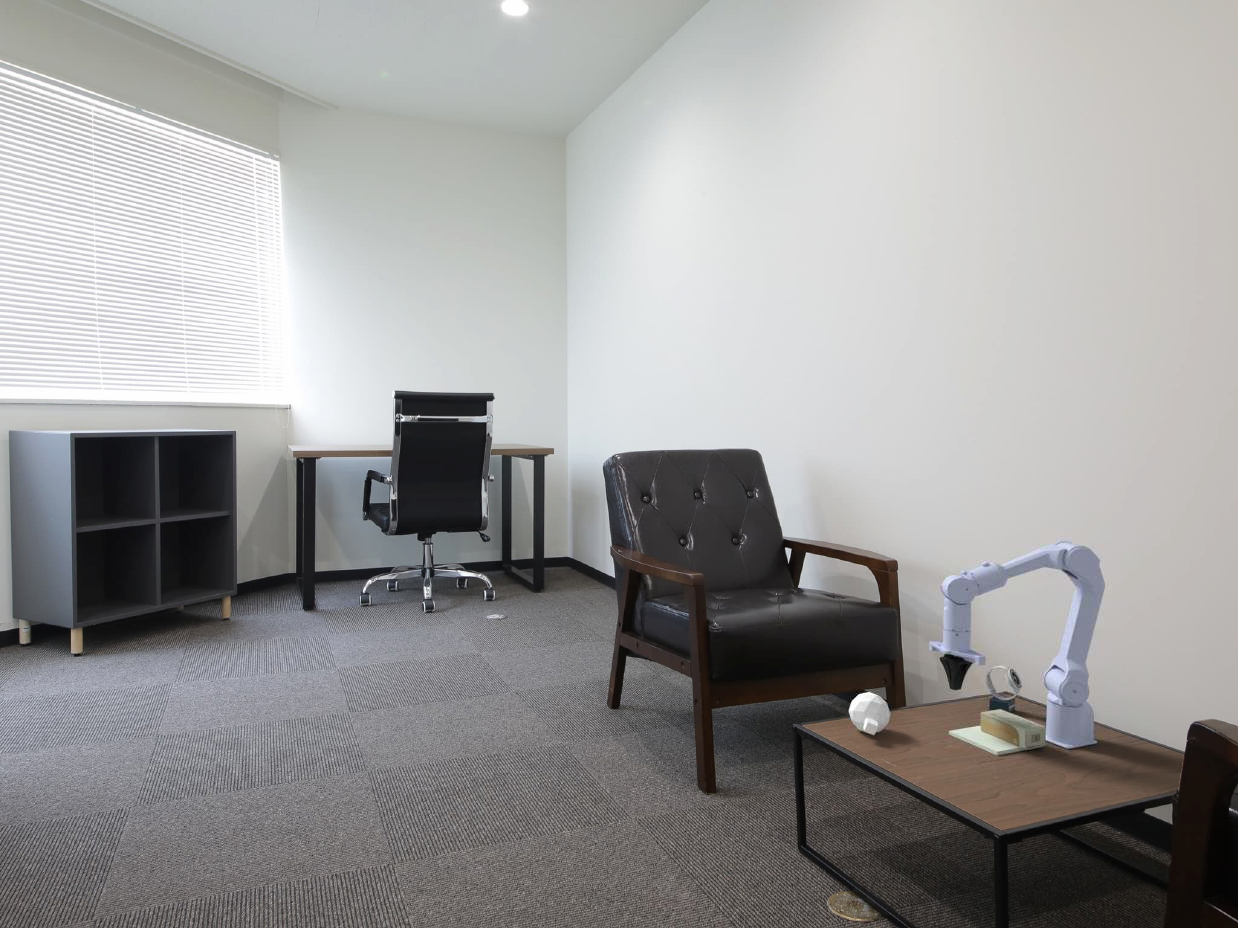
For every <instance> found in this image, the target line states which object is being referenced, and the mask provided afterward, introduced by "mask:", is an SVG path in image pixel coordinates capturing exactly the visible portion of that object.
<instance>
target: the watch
mask: <svg viewBox="0 0 1238 928" xmlns="http://www.w3.org/2000/svg"><path fill="white" fill-rule="evenodd" d="M997 669H998V670H1003V672H1004V674H1005V679H1006V681H1007V683H1008V685H1010V687H1011V688H1012V689H1013V692H1014V695H1012V696H1007V695H1002V694H999V693H998V692H997V690H996V688H995V686H994V684H993V681H992V679H991V673H992V671H993V670H997ZM984 679H985V680H984V682H985V685H986V687H987V689H988V691H989V693H990V695H991V696H993V697H991V698H989V708H988V711H992V710H999V709H1001V710H1004V711H1006V712H1009V713H1012V714H1013V713H1014V712H1015V711H1016V696H1017V695H1018V694H1019V693H1020V691H1021V689H1022V687H1023V685H1022V681H1021V678H1020V676H1019V675H1018V673H1017V672H1016V670H1014V669H1013V668H1010V667H1009V666H1006V665H996V666H994V667H992V668H990V669H989V670H988V671H987V672H986V674H985V678H984ZM1013 711H1014V712H1013Z"/></svg>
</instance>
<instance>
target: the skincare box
mask: <svg viewBox="0 0 1238 928" xmlns="http://www.w3.org/2000/svg"><path fill="white" fill-rule="evenodd" d="M980 726H981V731H984V732H986V733H988V734H991V735H993V736H995V737H998V738H1000V739H1002V740H1005V741H1007V742H1009V743H1012V744H1014V745H1017V746H1019V747H1021V748H1023V749H1028V750H1031V749H1030V748H1034V749H1037V748H1036V747H1039V748H1041V747H1040V746H1044V747H1045V746H1046V742H1047V741H1046V726H1045V725H1042V724H1040V723H1038V722H1036V721H1032V720H1030V719H1027V718H1024V717H1022V716H1019V715H1017V714H1014V713H1013V712H1012V713H1009V712H1006V711H1004V710H1001V709H999V710H992V711H989V710H987V711H982V712H980Z"/></svg>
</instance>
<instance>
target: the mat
mask: <svg viewBox="0 0 1238 928" xmlns="http://www.w3.org/2000/svg"><path fill="white" fill-rule="evenodd" d="M948 735H950V736H952V737H954V738H955V739H957V740H958V739H959V740H961V741H962V742H965V743H968V744H970V745H972V746H974V747H977V748H979V749H981V750H983V751H986V752H988V753H991V754H992V755H995V756H1001V755H1006V754H1007V755H1008V754H1012V753H1017V752H1021V751H1022V752H1023V751H1027V750H1033V749H1037V748H1038V749H1039V748H1042V747H1045V745H1044V746H1040V747H1036V748H1030V749H1023V748H1021V747H1019V746H1017V745H1014V744H1012V743H1009V742H1007V741H1005V740H1002V739H1000V738H998V737H995V736H993V735H991V734H988V733H986V732H984V731H981V725H976V726H970V727H965V728H964V727H963V728H959V729H958V728H957V729H953V730H949V731H948Z"/></svg>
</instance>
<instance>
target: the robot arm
mask: <svg viewBox="0 0 1238 928" xmlns="http://www.w3.org/2000/svg"><path fill="white" fill-rule="evenodd" d="M1100 563H1101V559H1100V558H1099V557H1098V555H1096V553H1095V552H1094V550H1092V549H1091V548H1089V547H1088V546H1085V545H1079V544H1076V543H1072V542H1071V541H1067V540H1060V541H1058V542H1055V543H1054V544H1053V543H1051V544H1047V545H1044V546H1042V547H1040V548H1038V549H1036V550H1033V551H1030V552H1029V553H1026V554H1024V555H1021V556H1019V557H1017V558H1014V559H1012V560H1010V561H1007V562H1005V563H1003V564H998V563H996V562H992V561H991V562H990V563H989V562H988V561H983V562H981V563H980V565H981V566H978V567H976V568H973V569H971V570H962V571H960V573H961V574H960V575H959V574H958V575H957V574H952V575H951V574H950V575H948V576H946V577H945V578H944V580H943V581H942V584H941V585H940V592H941V593H942V594H943V596H944V601H943V605H944V606H943V623H942V625H943V626H942V631H943V632H942V642H940V641H936V640H934V641H933V640H932V641H931V640H930V641H929V642H928V650H929V651H932V652H933V651H935V652H939V653H941V654H943V656H940V657H939V661H940V663H941V665H942V667H943V669H944V671H945V674H946V677H947V681H948V682H947V683H948V686H949V690H952V691H960V690H962V686H963V684H964V681H965V677H966V676H967V673H968V671H969V669H970V668H971V666H972V665H973V664H975V666H978V667H979V666H986V655H983V654H980V653H978V652H977V651H975V650H973V649H972V648H971V633H972V630H971V629H972V628H971V627H972V624H971V623H972V619H971V618H972V610H971V609H972V603H971V602H973V600H974V599H975V598H976V597H979V596H982V595H984V594H987V593H989V592H992V591H994V590H997V589H1000V588H1003V587H1005V586H1006V584H1007V581H1008V580H1009V579H1011V578H1014V577H1017V576H1020V575H1024V574H1026V573H1030V572H1033V571H1037V570H1040V569H1042V568H1048V569H1052V570H1053V569H1054V570H1060V571H1061V572H1063V573H1064V574H1065V575H1066V576H1067V577H1068V578H1069V580H1070V581H1071V582H1072V584H1073V585H1074V586H1075V590H1074V594H1073V597H1072V601H1071V605H1070V606H1071V607H1070V609H1069V613H1068V617H1067V621H1066V624H1065V629H1064V631H1063V632H1064V633H1063V637H1062V640H1061V645H1060V648H1059V652H1058V654H1057V655H1056V656H1055V657H1054V658H1053V659H1051V660H1052V661H1051V663H1050V666H1049V668H1047V670H1046V671H1045V672H1044V675H1043V677H1042V678H1043V679H1042V680H1043V685H1044V687H1045V688H1046V690H1048V693H1047V695H1046V721H1045V722H1046V723H1045V725H1046V726H1045V727H1046V742H1049V743H1051V744H1055V745H1057V746H1059V747H1062V748H1064V749H1067V750H1070V749H1074V748H1081V747H1085V746H1090V745H1095V744H1097V743H1098V741H1097V740H1095V739H1094V738H1095V736H1094V733H1095V732H1094V731H1095V712H1094V710H1093V707H1092V705H1091V704H1090V703H1089V702H1088V701H1087V700H1088V698H1089V696H1090V687H1089V684H1088V683H1089V682H1088V681H1089V677H1090V674H1089V671H1088V667H1087V665H1086V664H1087V659H1088V655H1089V651H1090V647H1091V643H1092V639H1093V635H1094V631H1095V627H1096V623H1097V619H1098V616H1099V612H1100V608H1101V604H1102V600H1103V596H1104V593H1105V590H1106V589H1105V588H1106V582H1105V579H1104V576H1103V573H1102V569H1101V566H1100Z"/></svg>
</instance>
